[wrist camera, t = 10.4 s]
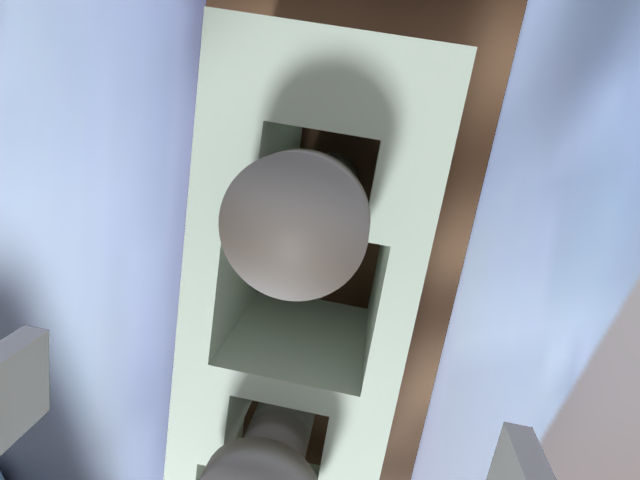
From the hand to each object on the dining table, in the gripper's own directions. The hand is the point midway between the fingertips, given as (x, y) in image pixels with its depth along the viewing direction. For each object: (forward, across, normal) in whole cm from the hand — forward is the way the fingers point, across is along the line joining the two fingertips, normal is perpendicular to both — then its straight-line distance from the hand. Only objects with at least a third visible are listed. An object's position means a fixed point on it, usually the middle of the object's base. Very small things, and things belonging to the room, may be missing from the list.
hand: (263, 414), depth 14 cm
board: (+10, 0, +1) cm, 10 cm away
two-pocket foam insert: (+8, 0, 0) cm, 8 cm away
